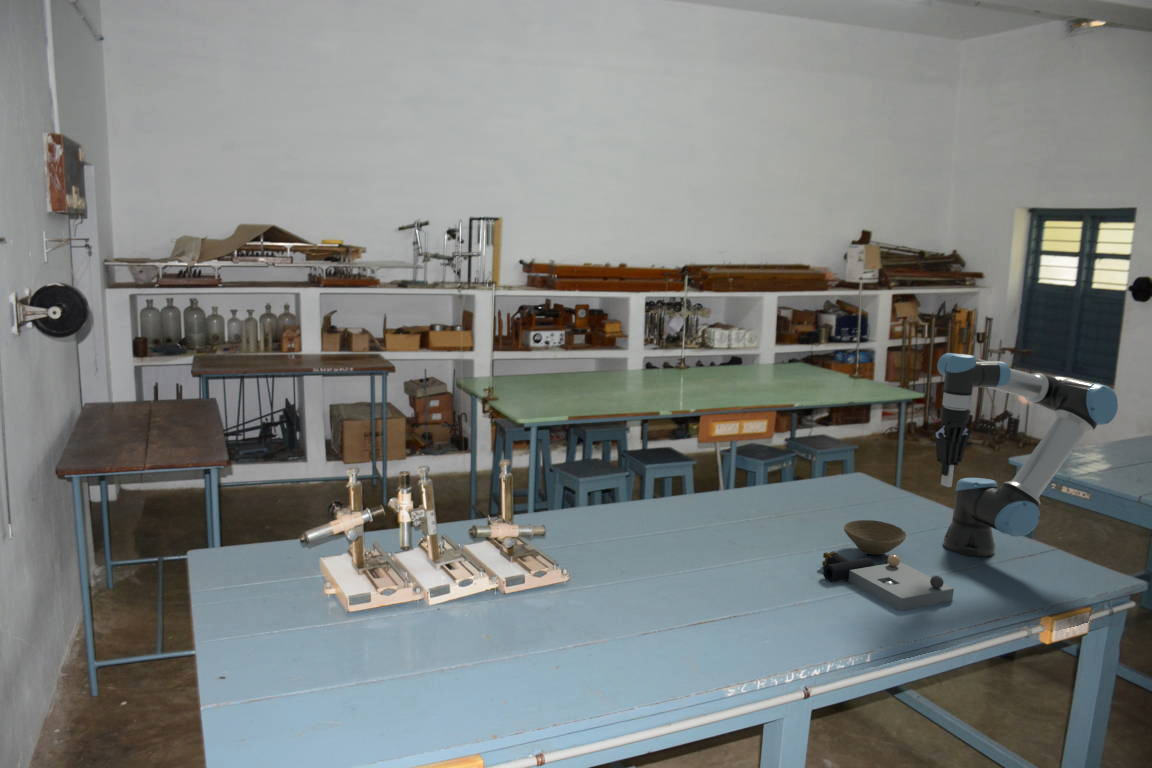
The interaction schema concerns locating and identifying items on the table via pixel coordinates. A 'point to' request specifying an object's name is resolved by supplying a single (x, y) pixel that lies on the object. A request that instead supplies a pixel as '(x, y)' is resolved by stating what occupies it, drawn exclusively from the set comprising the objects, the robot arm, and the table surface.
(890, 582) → the steel ball
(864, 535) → the bowl
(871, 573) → the slate board
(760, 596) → the table surface
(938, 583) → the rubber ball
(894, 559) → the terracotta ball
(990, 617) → the table surface
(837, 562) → the pipe connector
